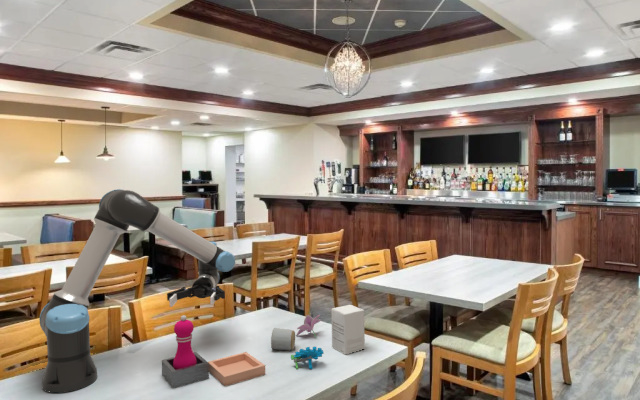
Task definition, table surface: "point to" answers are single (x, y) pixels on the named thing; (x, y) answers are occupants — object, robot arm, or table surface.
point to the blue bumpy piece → (307, 355)
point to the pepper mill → (184, 344)
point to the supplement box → (348, 329)
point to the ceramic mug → (282, 339)
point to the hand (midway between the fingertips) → (191, 302)
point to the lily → (308, 324)
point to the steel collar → (185, 372)
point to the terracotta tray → (236, 368)
